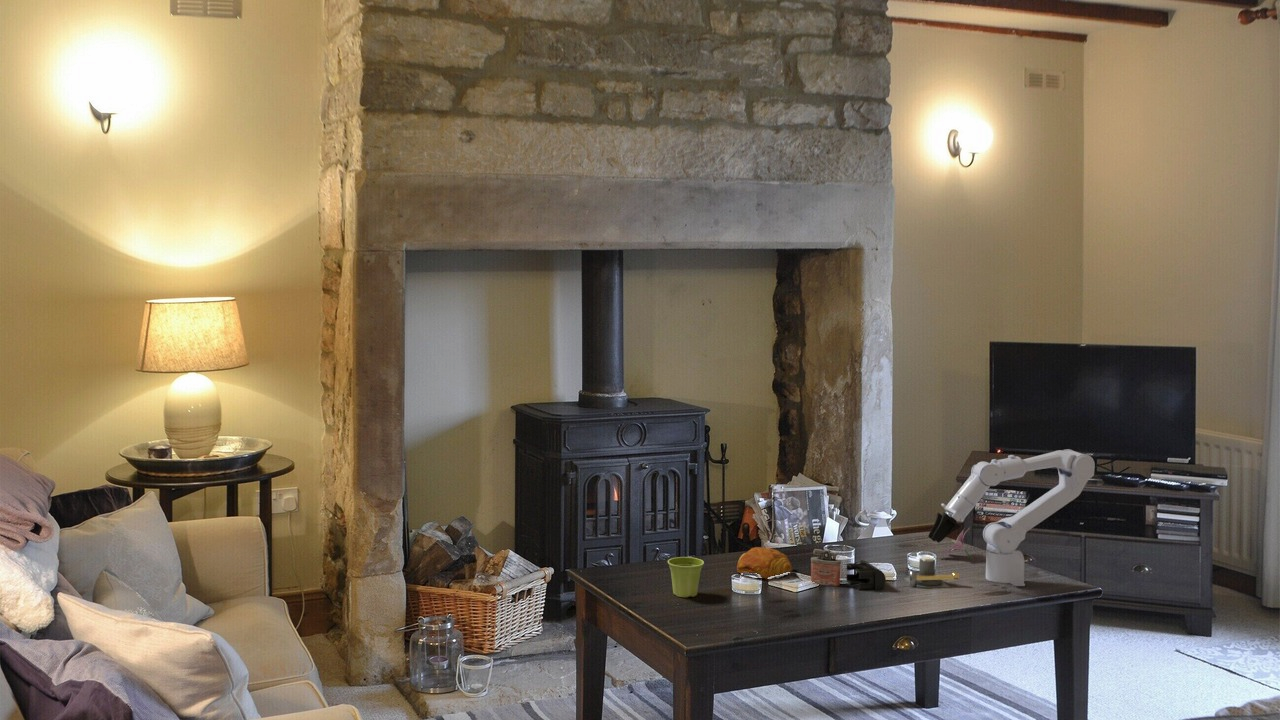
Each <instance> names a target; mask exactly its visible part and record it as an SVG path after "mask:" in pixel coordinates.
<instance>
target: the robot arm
mask: <svg viewBox="0 0 1280 720" xmlns="http://www.w3.org/2000/svg"><path fill="white" fill-rule="evenodd" d="M1095 465H1096V464H1095V460H1094V459H1093V457H1092V456H1091V455H1089V454H1087V453H1081V452H1078V451H1074V450H1073V449H1070V448H1067V449H1063V450H1062V449H1061V450H1060V449H1059V450H1055V451H1050V452H1047V453H1043V454H1040V455H1036V456H1032V457H1028V458H1024V459H1022V458H1021V457H1020V456H1016V455H1013V454H1010V455H1008V456H1007V458H1002V459H1001V458H1000V459H996V458H993V459H991V461H990V462H988V461H985V460H984V461H983V460H982V461H979V462H977V464H973V466H971V471H970V472H971V473H970V475H969V477H968V478H967V479H966V481H965V482H964V483H963V484H962V486H961V487H960V488H959V489H958V490H957V492H956V493H955V494H954V496H953V497H951V500H949V502H948V503H947V504H945V503H940V504H941V505H940V506H941V507H942V508H943V509H944V510H945V512H942V513H940V512H937V513H936V518H935V521H934V524H933V525H932V527H931V529H930V532H929V533H928V535H927V538H929V539H930V540H931V541H933V542H936V543H938V544H939V543H941V542H942V541H944V540H945V539H946V538H947V537H948V536H949V535H950V534H952V533H953V532H955V531H957V530H959V529H961V528H962V525H960V524H958V522H960V523H964V521H965V519H966V517H967V516H968V515H969V514H970V512H971V511H972V510H973V509H974V508H975V506H976V505H977V504H978V503H979V502H980V500H981V499H982V497H984V495H985V494H986V492H987V491H988V490H989V489H990V487H995V486H998V485H999V484H1000V483H1001V482H1004V481H1005V482H1006V481H1010V480H1015V479H1020V478H1023V477H1024V476H1025V474H1026V473H1027V472H1031V471H1032V472H1033V471H1036V470H1037V471H1038V470H1042V469H1045V470H1046V469H1050V468H1057V471H1058V473H1057V474H1058V477H1059V478H1058V485H1056V486H1054V487H1053V488H1051V489H1050V490H1049V491H1047V492H1046V493H1044V494H1043V495H1041V496H1040V497H1039V498H1037V499H1035V500H1033V502H1031V503H1030V504H1028V505H1027V506H1026V507H1024V508H1023V509H1021V510H1019V511H1018V512H1017V513H1015V514H1013V515H1012V516H1009V517H1004V518H1001V519H1000V520H998V521H995V522H994V521H993V522H990V523H987V525H985V526H984V528H983V530H982V537H983V540H984V542H985V543H986V548H985V549H986V551H985V552H986V553H985V557H986V558H985V579H986V580H987V581H990V582H993V583H1001V584H1011V585H1012V586H1014V587H1025V586H1026V584H1025V558H1024V554H1023V553H1022V551H1021V550H1018V549H1017V548H1018V546H1019V545H1020V544H1021V543H1022V542H1023V541H1024V540H1025V539H1026V533H1027V532H1028V531H1031V530H1032V528H1035V527H1036V526H1037V525H1039V524H1040V523H1042V522H1043V521H1045V520H1046V519H1047V518H1049V517H1050V516H1052V515H1053V514H1055V513H1056V512H1057V511H1059V510H1060V509H1062V508H1063V507H1065V506H1066V505H1067V504H1069V503H1070V502H1073V500H1075V499H1076V498H1078V497H1079V496H1080V495H1081V493H1082V491H1083V489H1084V488H1085V486H1086V485H1087V483H1088V481H1089V479H1091V478H1092V477H1094V475H1095V467H1096V466H1095ZM1016 549H1017V550H1016Z"/></svg>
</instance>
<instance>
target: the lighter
mask: <svg viewBox="0 0 1280 720" xmlns="http://www.w3.org/2000/svg"><path fill="white" fill-rule="evenodd" d="M813 555H817V556H811V558H810V562H811V564H810V566H811V567H810V568H811V569H810V582H811V581H812V582H815V583H817V584H816V585H822V586H830V587H831V586H832V587H839V586H840V585H841V564H842V560H841V559H837V555H838V554H837V552H836V551H831V549H826V550H823V549H819V548H814V550H813ZM815 583H814V584H815Z"/></svg>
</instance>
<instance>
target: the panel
mask: <svg viewBox="0 0 1280 720" xmlns="http://www.w3.org/2000/svg"><path fill="white" fill-rule="evenodd" d="M903 579H904V580H905V581H906V582H908V583H909V584H910V577H903ZM915 588H916V589H920V588H921V589H924V588H925V589H927V588H929V589H930V588H931V587H927V586H920V585H917V587H915ZM933 588H950V586H949V585H948V584H947V583H945V582H944V581H943V580H942V585H940V586H934V587H933Z"/></svg>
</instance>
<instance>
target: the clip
mask: <svg viewBox="0 0 1280 720" xmlns="http://www.w3.org/2000/svg"><path fill="white" fill-rule="evenodd" d="M917 573H918V571H917V570H909V578H910V583H909V587H910V588H916V587H917V580H942V581H943V580H945V581H947V580H949V581H950V580H959V579H960V572H956V571H954V572H952V573H951V574H936V575H917Z"/></svg>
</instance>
